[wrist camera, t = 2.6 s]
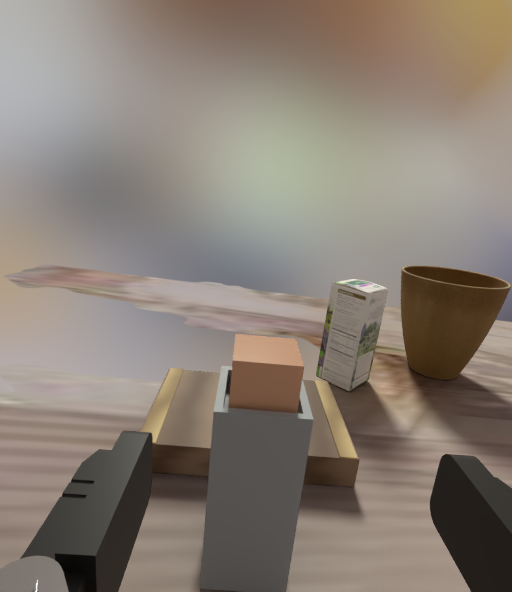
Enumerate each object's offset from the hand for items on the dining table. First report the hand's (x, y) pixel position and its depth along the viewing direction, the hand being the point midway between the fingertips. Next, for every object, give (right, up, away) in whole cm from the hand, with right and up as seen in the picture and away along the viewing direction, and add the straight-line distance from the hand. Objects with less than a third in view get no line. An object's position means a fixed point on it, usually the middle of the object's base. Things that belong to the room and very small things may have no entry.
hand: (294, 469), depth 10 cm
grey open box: (-2, -14, +17) cm, 22 cm away
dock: (-2, -10, +30) cm, 32 cm away
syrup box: (+12, -8, +44) cm, 46 cm away
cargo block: (-1, -2, +13) cm, 14 cm away
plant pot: (+28, -7, +50) cm, 58 cm away
